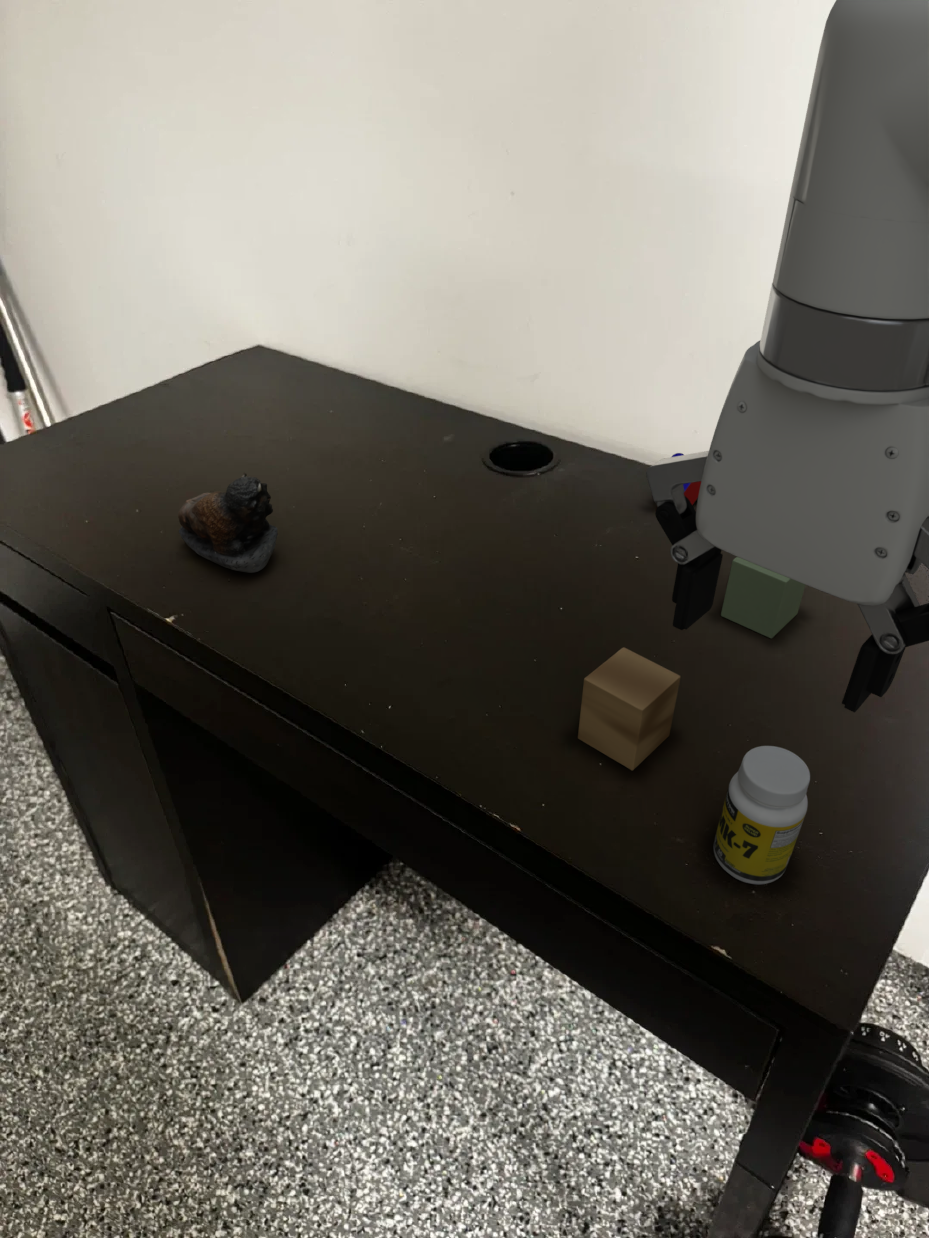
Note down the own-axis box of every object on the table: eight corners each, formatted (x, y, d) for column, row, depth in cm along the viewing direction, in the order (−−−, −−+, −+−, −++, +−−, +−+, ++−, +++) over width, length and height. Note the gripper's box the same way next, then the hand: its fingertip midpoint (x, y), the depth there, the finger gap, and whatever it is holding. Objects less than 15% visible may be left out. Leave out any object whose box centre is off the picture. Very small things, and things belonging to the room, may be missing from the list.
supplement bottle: (697, 842, 60) (719, 753, 55) (753, 819, 61) (779, 730, 56) (744, 897, 56) (771, 808, 51) (802, 871, 58) (834, 782, 53)
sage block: (747, 592, 83) (760, 537, 79) (797, 614, 80) (813, 558, 77) (720, 615, 80) (732, 559, 77) (771, 639, 77) (786, 582, 74)
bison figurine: (167, 550, 89) (146, 458, 83) (224, 522, 93) (208, 433, 87) (244, 595, 83) (227, 499, 77) (301, 563, 87) (289, 470, 81)
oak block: (615, 705, 71) (623, 646, 67) (669, 735, 68) (681, 675, 64) (577, 738, 68) (583, 678, 64) (632, 771, 65) (642, 710, 61)
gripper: (1113, 364, 35) (965, 694, 45) (717, 276, 44) (669, 566, 54) (1058, 424, 30) (907, 775, 40) (631, 312, 40) (597, 620, 50)
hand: (771, 655), depth 47 cm, fingers open, 9 cm apart
